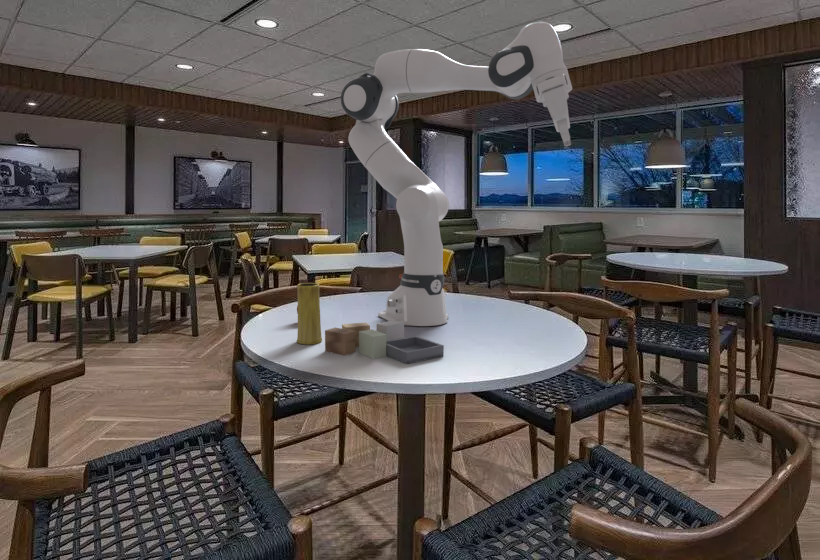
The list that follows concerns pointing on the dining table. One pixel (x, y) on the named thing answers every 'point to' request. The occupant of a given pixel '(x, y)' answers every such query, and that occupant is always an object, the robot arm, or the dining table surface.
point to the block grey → (391, 329)
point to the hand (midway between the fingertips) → (567, 143)
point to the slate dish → (413, 349)
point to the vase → (308, 314)
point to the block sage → (372, 343)
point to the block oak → (356, 329)
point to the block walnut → (340, 341)
